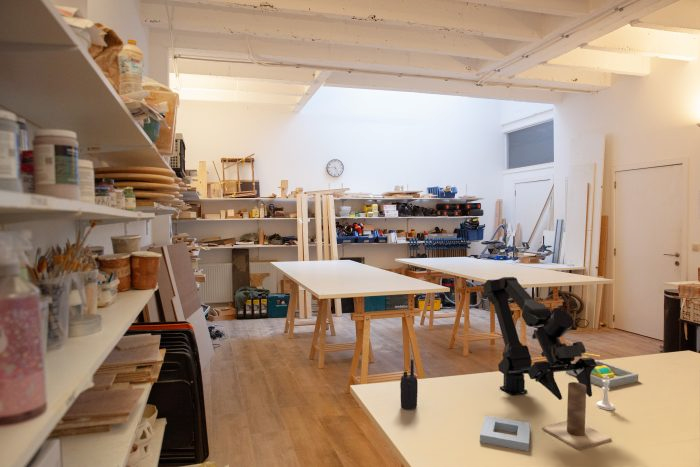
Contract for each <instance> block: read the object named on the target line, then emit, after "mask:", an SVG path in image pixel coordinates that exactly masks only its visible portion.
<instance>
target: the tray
mask: <svg viewBox="0 0 700 467" xmlns="http://www.w3.org/2000/svg"><path fill="white" fill-rule="evenodd" d="M594 360H595V362H596V364H597V366H603V365H606V366H607V367H609V368H610V370H611V371H612V373H614V375H616V376H614V378H610V379H607V380H608V381H610V383H609V386H608V388H609V389H610V388H615V387H618V386H622V385H628V384H632V383H636V382H639V373H636V372H633V371H630V370H628V369H624V368H621V367H619V366H615V365H613V364H611V363H608V362H604V361H600V360H598V359H594ZM597 366H596V367H597ZM565 374H568V375H571V376H573V377H575V376H577V374H575V373H574V372H573V370H572V371H565ZM590 380H591V384H593V385H596V386H598V387H601V388H602V387H604V385H603V382H602V381H603V380H605V379H602V378H600V377H597V376H595V375H592V374H591V375H590Z"/></svg>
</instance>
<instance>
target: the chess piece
mask: <svg viewBox="0 0 700 467" xmlns="http://www.w3.org/2000/svg"><path fill="white" fill-rule="evenodd" d="M603 378H605V380H603V381H602V382H603V385H604V387H601V390H603V396H602V400H598V401H597V402H596V407H597V408H599V409H601V410H605V411H606V410H607V411H613V410H615V405H614V404H613V403H611V402H610V400H609V393H608V391H610V388H608V386H609V383H610V381H608V380H607V379H609V377H607V375H605V377H603Z"/></svg>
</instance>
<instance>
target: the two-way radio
mask: <svg viewBox="0 0 700 467" xmlns="http://www.w3.org/2000/svg"><path fill="white" fill-rule="evenodd" d="M414 366H415V365H414V359H412V358H411V359H410V368H409V369H410V374H408V372H407V371H403V375H402V376H401V378H400V383H399V386H400V387H399V388H400V408H401V409H402V410H414V409H416V408H417V407H418V393H419V392H418V378H417V376H416V375H415V373H414V372H415V370H414Z"/></svg>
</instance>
